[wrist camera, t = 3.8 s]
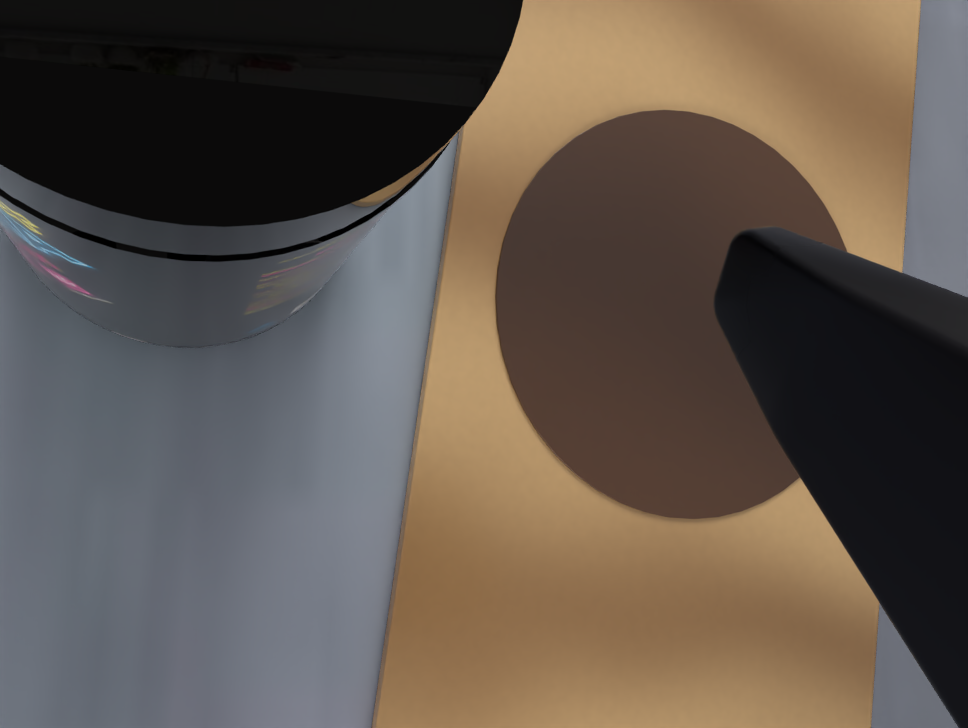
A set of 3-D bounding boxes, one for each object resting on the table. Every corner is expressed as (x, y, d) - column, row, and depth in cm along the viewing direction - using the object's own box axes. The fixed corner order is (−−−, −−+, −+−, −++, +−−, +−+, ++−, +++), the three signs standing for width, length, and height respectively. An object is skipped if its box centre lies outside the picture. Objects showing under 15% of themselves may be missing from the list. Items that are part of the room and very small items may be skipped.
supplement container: (114, -37, 19) (49, -591, 9) (406, 138, 20) (625, -166, 10) (-73, 247, 17) (-403, -45, 7) (259, 414, 19) (356, 357, 9)
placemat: (857, 765, 22) (871, 771, 22) (369, 737, 19) (373, 744, 18) (911, -1, 25) (924, -10, 25) (499, -150, 22) (506, -163, 21)
